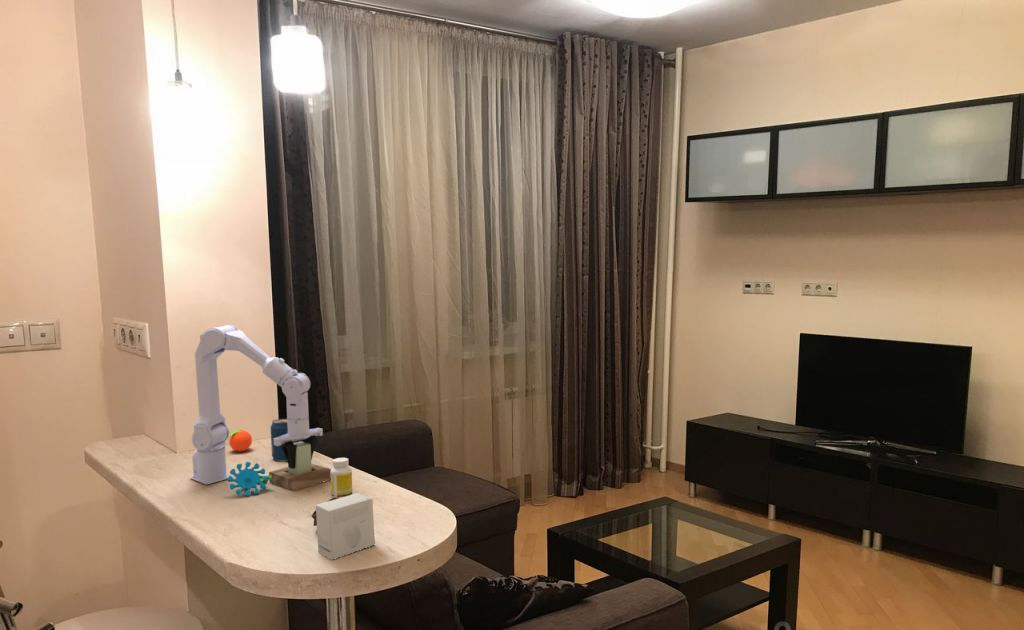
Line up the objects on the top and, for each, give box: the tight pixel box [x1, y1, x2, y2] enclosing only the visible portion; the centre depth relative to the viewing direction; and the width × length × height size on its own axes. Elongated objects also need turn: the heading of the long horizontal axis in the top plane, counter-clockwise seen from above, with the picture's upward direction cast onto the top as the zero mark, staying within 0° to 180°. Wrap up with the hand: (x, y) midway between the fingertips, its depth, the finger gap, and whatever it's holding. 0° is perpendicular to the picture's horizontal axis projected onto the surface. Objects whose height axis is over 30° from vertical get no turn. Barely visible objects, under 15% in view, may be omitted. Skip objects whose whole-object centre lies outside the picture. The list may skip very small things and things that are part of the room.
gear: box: [227, 461, 272, 497], centre depth 188 cm, size 11×6×10 cm
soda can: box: [270, 418, 296, 462], centre depth 218 cm, size 7×7×12 cm
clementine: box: [227, 429, 253, 453], centre depth 227 cm, size 8×7×7 cm
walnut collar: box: [268, 462, 332, 492], centre depth 196 cm, size 12×12×3 cm
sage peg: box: [287, 441, 312, 475], centre depth 196 cm, size 4×4×9 cm
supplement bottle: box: [330, 457, 353, 499], centre depth 182 cm, size 5×5×10 cm
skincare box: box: [315, 492, 376, 561], centre depth 149 cm, size 10×6×10 cm, turn 133°
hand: (299, 465), depth 196 cm, fingers closed on sage peg, 4 cm apart
